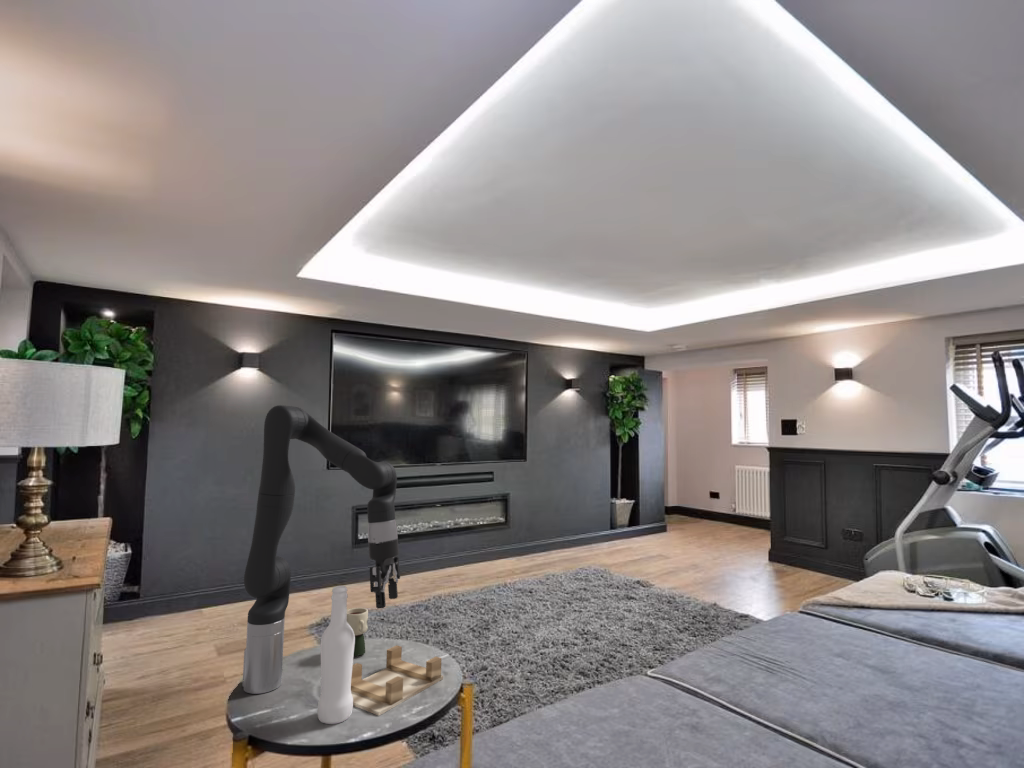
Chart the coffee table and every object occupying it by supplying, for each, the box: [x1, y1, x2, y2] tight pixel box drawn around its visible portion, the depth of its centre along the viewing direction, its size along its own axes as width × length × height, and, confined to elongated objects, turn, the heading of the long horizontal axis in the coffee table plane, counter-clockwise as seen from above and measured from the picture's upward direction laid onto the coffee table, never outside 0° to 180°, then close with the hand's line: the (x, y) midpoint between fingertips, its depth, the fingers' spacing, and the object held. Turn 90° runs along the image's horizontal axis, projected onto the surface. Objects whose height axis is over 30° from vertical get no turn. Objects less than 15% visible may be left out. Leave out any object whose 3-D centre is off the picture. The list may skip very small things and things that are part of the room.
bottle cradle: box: [351, 645, 444, 717], centre depth 143 cm, size 17×24×6 cm
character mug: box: [347, 607, 369, 657], centre depth 165 cm, size 11×7×13 cm, turn 39°
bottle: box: [316, 585, 355, 725], centre depth 129 cm, size 8×8×30 cm
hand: (387, 603), depth 138 cm, fingers open, 8 cm apart
